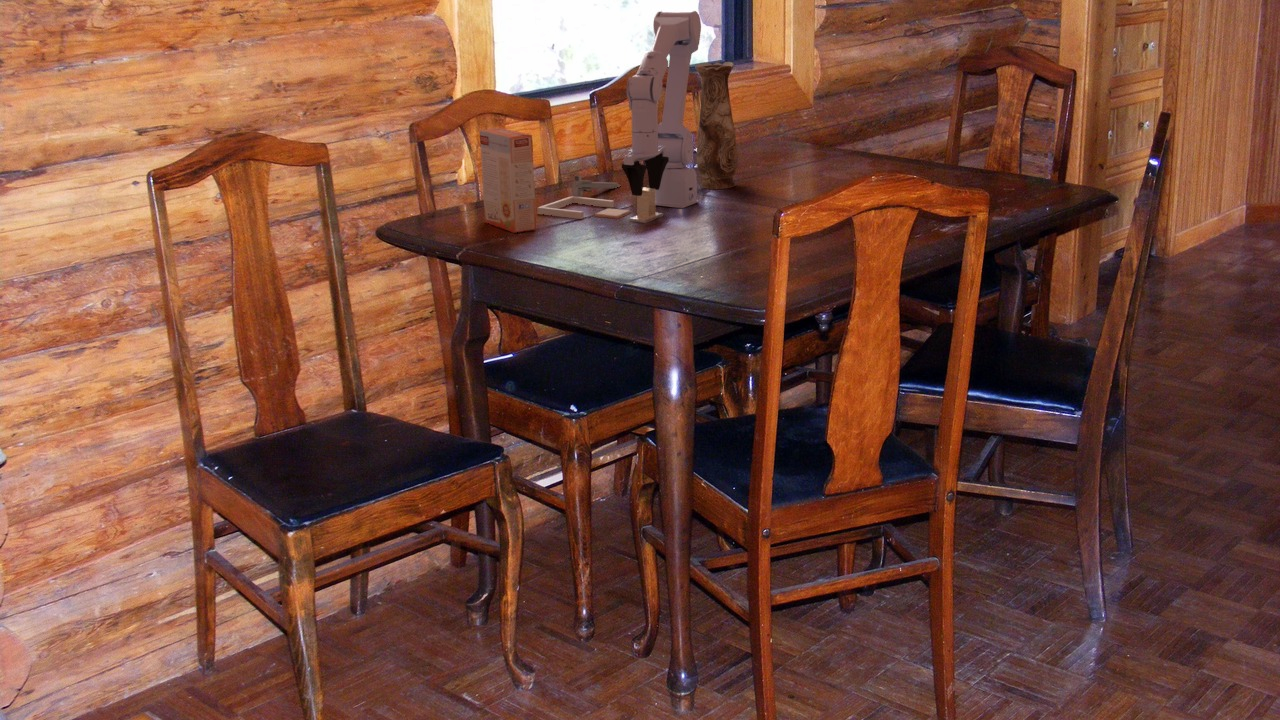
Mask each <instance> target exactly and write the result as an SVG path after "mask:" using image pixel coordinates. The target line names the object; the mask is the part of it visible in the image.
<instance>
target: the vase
mask: <svg viewBox="0 0 1280 720" xmlns="http://www.w3.org/2000/svg"><path fill="white" fill-rule="evenodd" d="M734 67H735V64H734V63H733V62H731V61H725V62H723V64H722V63H720V62H714V63H713V64H711V63H710V62H701V63H698V64H696V65H694V68H695V70H696V72H697V73H698V75H699V76H700V79H701V97H700V98H701V99H700V114H699V120H698V121H699V123H698V130H697V131H698V133H697V141H696V142H697V143H696V166H697V171H698V174H699V175H700V177H701V178H702V182H701V183H700V187H701V188H703V189H708V190H724V189H731V188H734V187H735V186H737V184H736V182H735V181H734V176H735V175H736V173H737V171H738V167H739V154H738V153H739V152H738V143H737V137H736V132H735V125H734V119H733V112H732V106H731V105H732V104H731V99H730V92H729V76H730V74H731V72H732V70H733V68H734Z"/></svg>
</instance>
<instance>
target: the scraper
mask: <svg viewBox="0 0 1280 720" xmlns="http://www.w3.org/2000/svg"><path fill="white" fill-rule="evenodd" d="M656 206H657V205H656V204H655V188H650V187H644V186H643V191H642V195H641V196H636V213H637V215H635V216H632V217H630V218H629V222H630V223H631V222H632V223H640V224H646V223H650V222H652V221H654V220H657V219H659V218H662V217H664V212H659V211H656V209H657V207H656Z"/></svg>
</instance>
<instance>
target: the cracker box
mask: <svg viewBox="0 0 1280 720" xmlns="http://www.w3.org/2000/svg"><path fill="white" fill-rule="evenodd" d="M479 140H480V143H479V144H480V158H481V159H480V160H481V161H480V162H481V177H482V178H481V179H482V192H483V193H482V194H483V196H482V197H483V207H484V208H483V209H484V210H483V213H484V222H486V224H488V223H489V225H492V226H494V227H496V228H499V227H500V228H499V229H502V230H506V231H508V232H510V233H513V234H516V233H517V232H518V233H523V232H524V231H525V232H529V231H536V230H537V220H536V219H537V216H536V214H537V213H536V197H535V195H536V194H535V193H536V192H535V191H536V190H535V172H534V169H535V168H534V150H533V149H534V146H533V145H534V143H533V135H532V134H529V133H526V132H525V133H524V132H520V131H516V130H511V129H507V128H502V127H495V128H488V129H480V130H479Z"/></svg>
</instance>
